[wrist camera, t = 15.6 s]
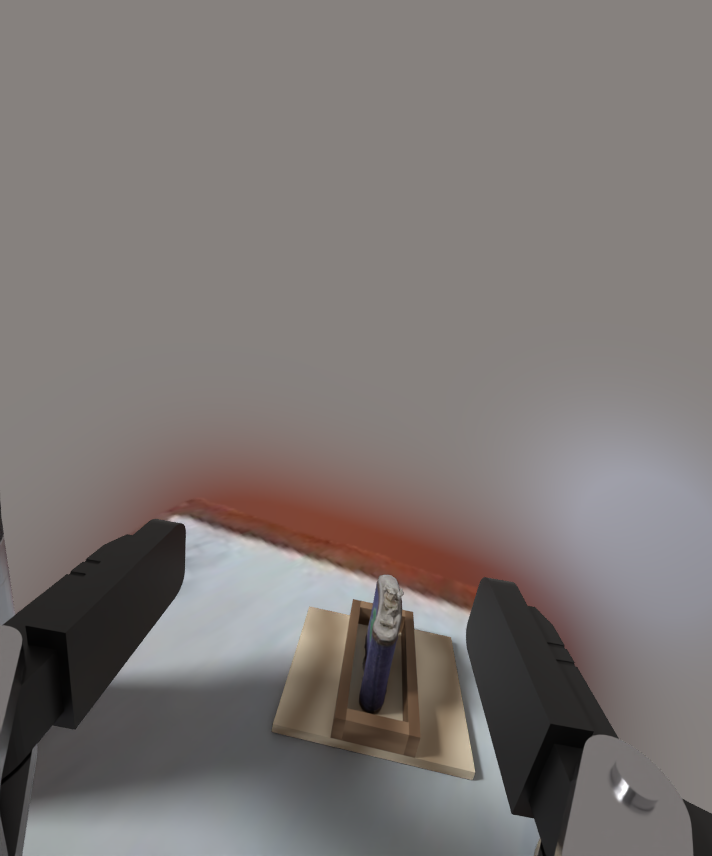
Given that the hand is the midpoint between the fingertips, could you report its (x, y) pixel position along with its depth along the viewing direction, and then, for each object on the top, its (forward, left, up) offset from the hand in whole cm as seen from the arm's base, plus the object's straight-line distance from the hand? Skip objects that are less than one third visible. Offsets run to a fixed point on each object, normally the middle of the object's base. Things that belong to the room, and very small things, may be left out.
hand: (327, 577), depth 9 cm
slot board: (+5, +22, -29) cm, 37 cm away
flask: (+5, +22, -29) cm, 36 cm away
